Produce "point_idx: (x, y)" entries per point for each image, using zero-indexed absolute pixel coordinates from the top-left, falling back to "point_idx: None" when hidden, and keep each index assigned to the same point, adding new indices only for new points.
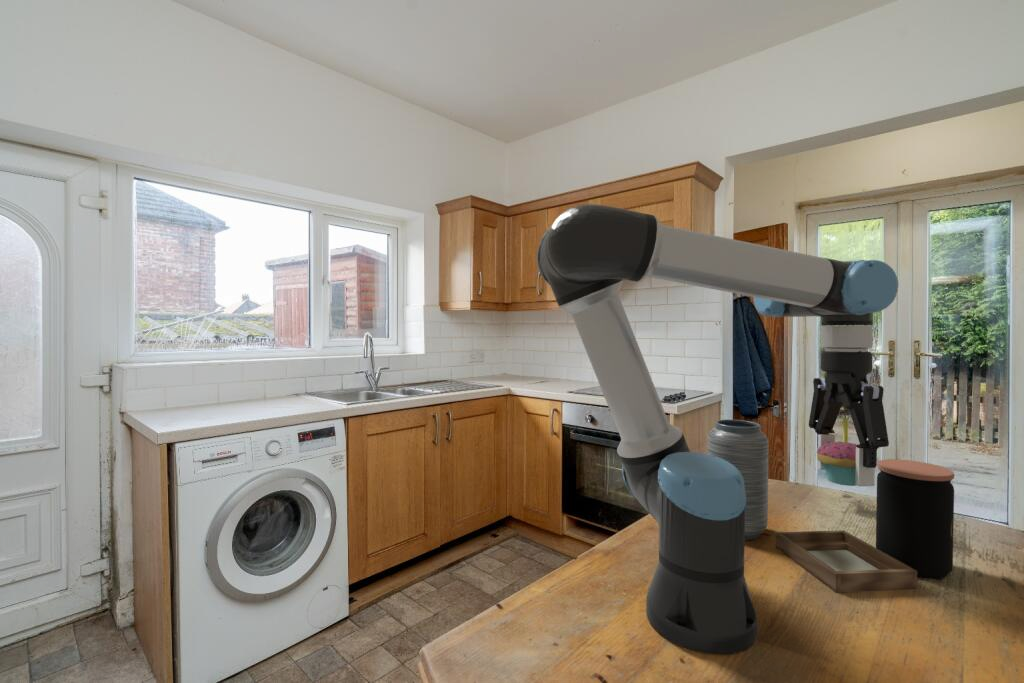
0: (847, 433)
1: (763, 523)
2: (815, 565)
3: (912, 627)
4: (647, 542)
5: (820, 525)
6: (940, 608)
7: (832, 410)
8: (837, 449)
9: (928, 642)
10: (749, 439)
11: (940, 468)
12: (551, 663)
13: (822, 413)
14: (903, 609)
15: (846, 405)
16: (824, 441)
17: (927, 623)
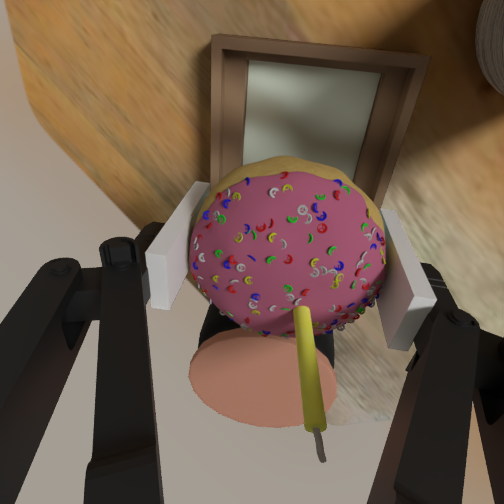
0: (297, 350)
1: (482, 50)
2: (275, 40)
3: (117, 79)
4: None
5: (456, 241)
6: (167, 173)
7: (392, 458)
8: (249, 222)
9: (81, 66)
10: None
11: (241, 414)
12: None
13: (451, 415)
14: (164, 114)
15: (137, 470)
16: (399, 289)
17: (129, 114)
